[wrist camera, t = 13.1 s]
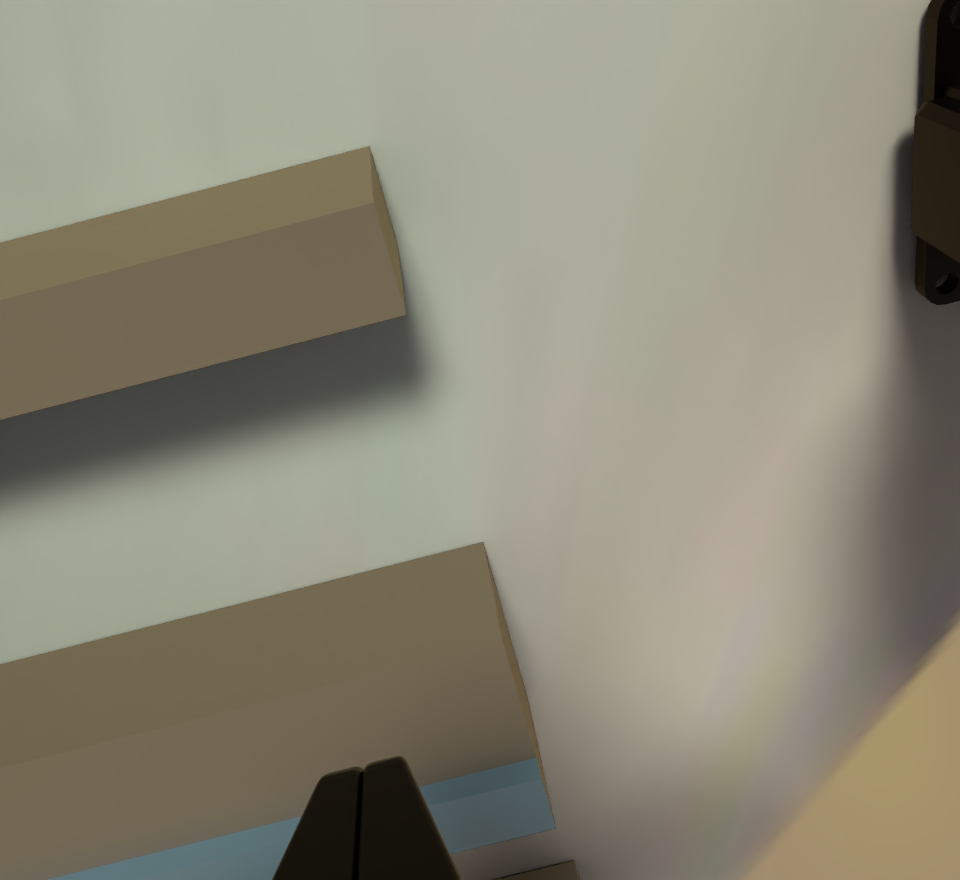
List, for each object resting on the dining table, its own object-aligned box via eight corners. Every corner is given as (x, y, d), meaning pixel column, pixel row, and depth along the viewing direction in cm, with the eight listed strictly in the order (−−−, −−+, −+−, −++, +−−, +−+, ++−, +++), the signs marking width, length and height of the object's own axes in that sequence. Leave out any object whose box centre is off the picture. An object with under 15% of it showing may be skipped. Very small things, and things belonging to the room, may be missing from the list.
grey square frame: (369, 146, 17) (376, 234, 13) (583, 893, 31) (619, 1052, 27) (-431, 355, 18) (-674, 507, 14) (135, 1003, 32) (102, 1177, 28)
